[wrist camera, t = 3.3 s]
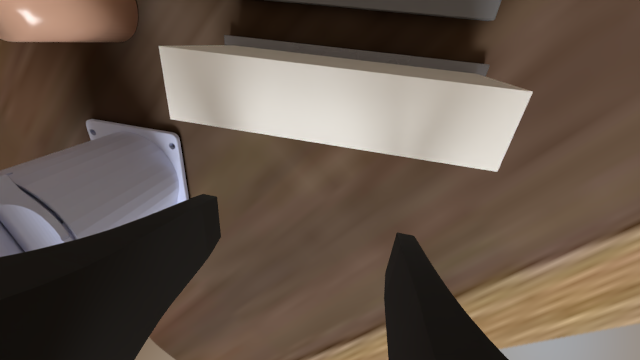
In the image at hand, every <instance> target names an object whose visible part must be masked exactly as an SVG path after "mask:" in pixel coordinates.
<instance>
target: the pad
mask: <svg viewBox="0 0 640 360" xmlns="http://www.w3.org/2000/svg"><path fill="white" fill-rule="evenodd" d="M266 1H276V2H287V3H298V4H309V5H320V6H331V7H342V8H352V9H363V10H374V11H385V12H396V13H407V14H418V15H428V16H439V17H450V18H461V19H472V20H483V21H492V20H495V17H496V14H497V11H498V8H499V6H500V3H501V0H266Z"/></svg>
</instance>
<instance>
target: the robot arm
mask: <svg viewBox="0 0 640 360" xmlns="http://www.w3.org/2000/svg"><path fill="white" fill-rule="evenodd" d="M86 127H87V130H88V133H89V136H90V139H91V141H88V142H85V143H82V144H79V145H76V146H73V147H70V148H67V149H64V150H61V151H58V152H55V153H52V154H49V155H46V156H43V157H40V158H37V159H34V160H31V161H28V162H25V163H22V164H19V165H16V166H13V167H10V168H7V169H4V170H1V171H0V360H134V359H135V358H136V356H137V354H138V353H139V351H140V350H141V348H142V347H143V345H144V343H145V342H146V340H147V339H148V337H149V336H150V334H151V333H152V331H153V330H154V328H155V327H156V325H157V323H158V322H159V320H160V319H161V317H162V316H163V315H164V313H165V312H166V311H167V309H168V308H169V306H170V305H171V304H172V303H173V301H174V300H175V299H176V298H177V296H178V295H179V294H180V293H181V291H182V290H183V289H184V288H185V286H186V285H187V284H188V283H189V281H190V280H191V279H192V278H193V276H194V275H195V274H196V273H197V271H198V270H199V269H200V268H201V266H202V265H203V264H204V263H205V261H206V260H207V259H208V257H209V256H210V254H211V252H212V251H213V249H214V248H215V246H216V244H217V242H218V241H219V239H220V237H221V234H220V223H219V213H218V202H217V197H215V196H210V195H205V194H202V195H199V196H196V197H193V198H191V199H189V196H188V189H187V183H186V176H185V170H184V163H183V157H182V150H181V143H180V138H179V136H178V135H177V134H176V133H173V132H168V131H162V130H156V129H150V128H144V127H138V126H132V125H126V124H120V123H114V122H108V121H102V120H96V119H90V120H87V121H86ZM172 143H173V144H174V145H175V147H174V146H173V144H172ZM384 301H385V316H386V330H387V343H388V357H389V360H508V359H507V358H506V357H505V356H504V355H503V354H502V353H501V352H500V350H499V349H498V348H497V347H496V346H495V345H494V344H493V343H492V342H491V341H490V340H489V339H488V338H487V336H486V335H485V334H484V333H483V332H482V331H481V329H480V328H479V327H478V326H477V325H476V324H475V323H474V321H473V320H472V319H471V318H470V317H469V316H468V314H467V313H466V312H465V311H464V309H463V308H462V307H461V306H460V304H459V303H458V302H457V300H456V299H455V298H454V296H453V295H452V294H451V292H450V291H449V289H448V288H447V287H446V285H445V284H444V282H443V281H442V279H441V278H440V276H439V275H438V273H437V272H436V270H435V269H434V267H433V266H432V264H431V263H430V261H429V259H428V258H427V256H426V255H425V253H424V251H423V250H422V248H421V246H420V245H419V243H418V241H417V240H416V238H415V237H414V236H412V235H407V234H402V233H397V234H396V238H395V241H394V245H393V248H392V252H391V255H390V259H389V262H388V266H387V269H386V273H385V294H384Z"/></svg>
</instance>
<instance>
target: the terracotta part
mask: <svg viewBox="0 0 640 360" xmlns="http://www.w3.org/2000/svg"><path fill="white" fill-rule="evenodd" d="M137 24H138V9H137V4H136V0H0V39H3V40H5V41H10V42H124V41H127V40H128V39H130V38H131V37H132V36H133V34H134V33H135V31H136V28H137Z"/></svg>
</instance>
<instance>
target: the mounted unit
mask: <svg viewBox="0 0 640 360" xmlns="http://www.w3.org/2000/svg"><path fill="white" fill-rule="evenodd" d="M224 41H225V45H205V46H159V52H160V58H161V64H162V70H163V76H164V82H165V88H166V95H167V101H168V107H169V113H170V119H173V120H179V121H185V122H191V123H198V124H204V125H210V126H216V127H222V128H229V129H235V130H241V131H247V132H254V133H260V134H266V135H272V136H278V137H285V138H291V139H297V140H303V141H309V142H316V143H322V144H328V145H334V146H340V147H347V148H353V149H359V150H365V151H372V152H378V153H384V154H390V155H396V156H403V157H409V158H415V159H421V160H427V161H434V162H440V163H446V164H452V165H458V166H465V167H471V168H477V169H483V170H490V171H496V172H497V171H498V169H499V167H500V165H501V162H502V160H503V158H504V156H505V153H506V151H507V149H508V147H509V144H510V142H511V140H512V138H513V135H514V133H515V131H516V129H517V126H518V124H519V122H520V120H521V117H522V115H523V113H524V111H525V108H526V106H527V104H528V102H529V99H530V97H531V95H532V93H533V92H532V91H529V90H526V89H523V88H520V87H516V86H513V85H510V84H507V83H504V82H501V81H497V80H494V79H491V78H488V77H486V74H487V71H488V68H489V65H488V64H482V63H473V62H464V61H455V60H446V59H437V58H428V57H419V56H410V55H401V54H392V53H383V52H375V51H366V50H357V49H348V48H339V47H330V46H321V45H312V44H303V43H294V42H285V41H276V40H267V39H259V38H250V37H241V36H232V35H224Z"/></svg>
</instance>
